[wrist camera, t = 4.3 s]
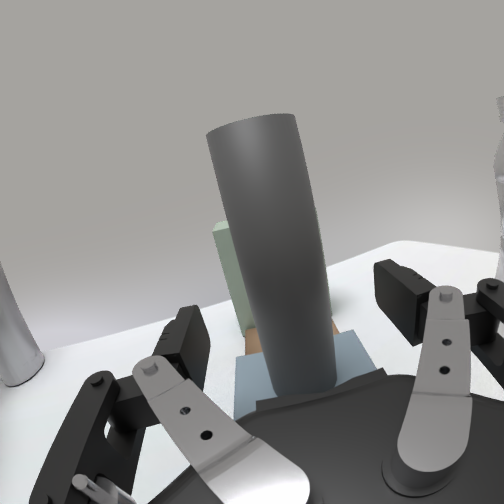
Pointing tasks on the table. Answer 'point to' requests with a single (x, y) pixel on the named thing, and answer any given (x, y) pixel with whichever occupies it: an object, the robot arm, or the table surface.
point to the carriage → (280, 264)
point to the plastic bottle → (500, 199)
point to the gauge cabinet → (237, 275)
